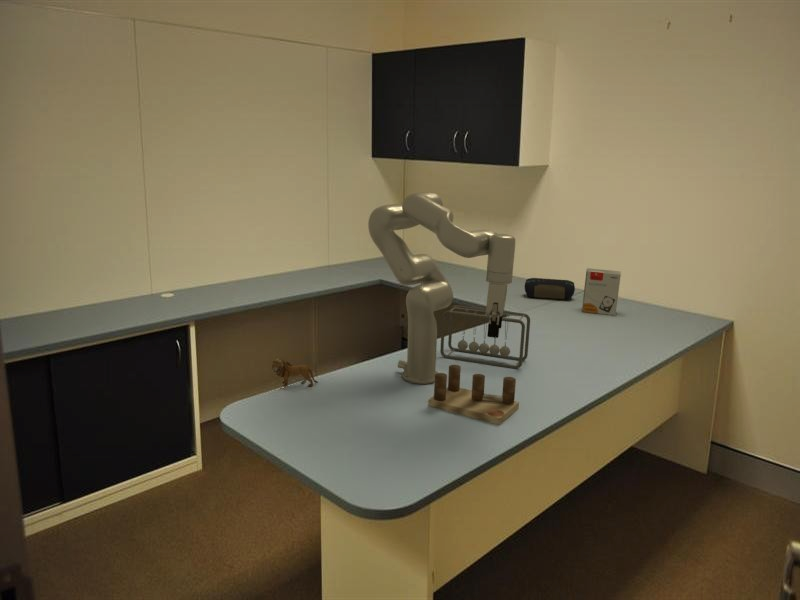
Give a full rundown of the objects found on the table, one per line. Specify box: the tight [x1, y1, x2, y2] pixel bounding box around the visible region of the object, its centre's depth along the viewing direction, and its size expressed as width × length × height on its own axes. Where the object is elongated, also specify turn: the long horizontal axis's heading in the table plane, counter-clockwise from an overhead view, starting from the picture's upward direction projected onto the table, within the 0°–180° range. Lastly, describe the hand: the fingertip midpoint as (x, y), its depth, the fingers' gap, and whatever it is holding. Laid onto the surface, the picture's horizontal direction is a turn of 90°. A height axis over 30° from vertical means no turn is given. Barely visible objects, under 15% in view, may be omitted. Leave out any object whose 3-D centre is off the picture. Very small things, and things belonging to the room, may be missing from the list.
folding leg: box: [471, 373, 517, 404], centre depth 191 cm, size 13×4×7 cm, turn 78°
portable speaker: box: [524, 277, 576, 301], centre depth 330 cm, size 25×10×10 cm, turn 78°
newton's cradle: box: [439, 304, 531, 370], centre depth 233 cm, size 30×10×18 cm, turn 68°
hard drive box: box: [581, 267, 622, 316], centre depth 304 cm, size 16×8×20 cm, turn 73°
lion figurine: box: [270, 358, 319, 388], centre depth 205 cm, size 15×5×9 cm, turn 101°
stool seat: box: [427, 364, 520, 425], centre depth 191 cm, size 23×14×10 cm, turn 58°
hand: (494, 332), depth 193 cm, fingers open, 9 cm apart
